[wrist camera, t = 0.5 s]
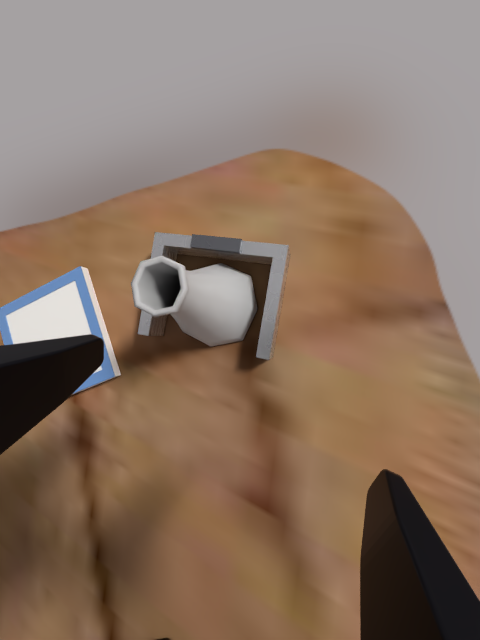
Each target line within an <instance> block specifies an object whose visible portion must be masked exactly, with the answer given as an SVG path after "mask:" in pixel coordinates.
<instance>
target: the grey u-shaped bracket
mask: <svg viewBox="0 0 480 640" xmlns="http://www.w3.org/2000/svg"><path fill="white" fill-rule="evenodd" d="M178 254H183V255H192V256H200V257H209V258H218V259H226V260H235V261H243V262H252V263H260V264H269V265H271V271H270V277H269V283H268V288H267V294H266V300H265V306H264V312H263V318H262V324H261V330H260V336H259V341H258V347H257V353H256V357H257V358H262V359H267V360H270V359H271V358H272V357H273V354H274V348H275V343H276V337H277V331H278V325H279V319H280V313H281V307H282V301H283V295H284V289H285V283H286V278H287V272H288V266H289V260H290V250H289V245H280V244H270V243H260V242H250V241H242V239H236V238H225V237H215V236H205V235H194V234H192V236H189V235H179V234H168V233H158V232H155V237H154V242H153V248H152V254H151V258H155V257H159V256H164V257H166V258H169V259H171V260H173V261H175V262H176V261H177V255H178ZM166 319H167V314H166V315H162V316H158V317H154V316H152V315H150V314H148V313H146V312H145V311H143V310H142V311H141V317H140V323H139V329H138V334H141V335H146V336H164V330H165V325H166Z"/></svg>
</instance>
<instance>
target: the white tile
mask: <svg viewBox="0 0 480 640" xmlns="http://www.w3.org/2000/svg"><path fill="white" fill-rule="evenodd" d="M0 331H1V335H2V338H3V342H4V345H10V344H18V343H26V342H34V341H42V340H49V339H57V338H65V337H73V336H81V335H88V334H92V335H95V336H97V337H100V338H102V339H103V341H104V360H103V363H102V364H101V366H100V367H99V368H98V369H97V370H96V371H95V372H94V373H93V374H92V375H91V376H90V377H89V378H88V379H87V380H86V381H85V382H84V383H83V384H82V385H81V386H80V387H79V388H78V389H77V390H76V391H75V392H74V393H73V394H76V393H78V392H81V391H83V390H86V389H88V388H91V387H93V386H95V385H98V384H100V383H103V382H105V381H108V380H110V379H113V378H115V377H118V376H120V375H121V373H120V370H119V367H118V364H117V361H116V358H115V354H114V351H113V348H112V345H111V342H110V339H109V335H108V332H107V329H106V326H105V323H104V319H103V316H102V313H101V310H100V307H99V304H98V300H97V297H96V294H95V291H94V288H93V284H92V281H91V278H90V275H89V272H88V269H87V268H84V267H81V266H80V267H78V268H76V269H74V270H72V271H70V272H68V273H66V274H64V275H62V276H60V277H59V278H57V279H55V280H53V281H51V282H49V283H47V284H45V285H43V286H41V287H39V288H37V289H35V290H34V291H32V292H30V293H28V294H26V295H24V296H22V297H20V298H18V299H16V300H14V301H12V302H10V303H8V304H7V305H5V306H3V307H1V308H0ZM73 394H72V395H73Z"/></svg>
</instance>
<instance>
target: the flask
mask: <svg viewBox="0 0 480 640" xmlns="http://www.w3.org/2000/svg"><path fill="white" fill-rule="evenodd" d="M131 286H132V292H133V299H134V305H135V307H137V308H139V309H141V310H143V311H145V312H146V313H148V314H150V315H152V316H154V317H158V316H162V315H166V314H171V316H172V317H173V318H174V319H175V321H176V322H177V323H178V325H179V327H180V328H181V330H182V331H183V332H184V333H186V334H188V335H190V336H192V337H194V338H196V339H197V340H199V341H201V342H203V343H205V344H207V345H209V346H216V345H222V344H227V343H232V342H237V341H242V340H243V339H244V337H245V335H246V333H247V331H248V329H249V327H250V324H251V322H252V320H253V318H254V316H255V314H256V312H257V310H258V308H257V303H256V298H255V293H254V288H253V283H252V278H251V276H250V275H248V274H246V273H243V272H241V271H239V270H237V269H234V268H232V267H230V266H228V265H225V264H223V263H219V264H215V265H211V266H208V267H204V268H200V269H196V270H192V271H188V270H186V269H185V266H184V265H182V264H179V263H177V262H175V261H173V260H171V259H169V258H166V257H164V256H159V257H155V258H151V259H148V260H144V261H141V262H140V264H139V266H138V269H137V271H136V273H135V275H134V278H133V280H132V282H131Z"/></svg>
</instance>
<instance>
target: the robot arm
mask: <svg viewBox="0 0 480 640" xmlns="http://www.w3.org/2000/svg"><path fill="white" fill-rule="evenodd" d="M103 360H104V341H103V339H102V338H100V337H97V336H95V335H92V334H88V335H81V336H73V337H65V338H57V339H49V340H42V341H34V342H26V343H18V344H10V345H3V346H0V455H1V454H2V453H3V452H4V451H5V450H7V449H8V448H9V447H10V446H12V445H13V444H14V443H15V442H16V441H18V440H19V439H20V438H21V437H22V436H24V435H25V434H26V433H27V432H28V431H30V430H31V429H32V428H33V427H34V426H36V425H37V424H38V423H39V422H40V421H42V420H43V419H44V418H45V417H46V416H48V415H49V414H50V413H51V412H52V411H54V410H55V409H56V408H57V407H58V406H60V405H61V404H62V403H63V402H64V401H65V400H67V399H68V398H69V397H70V396H71V395H72V394H73V393H74V392H75V391H76V390H77V389H78V388H79V387H80V386H81V385H82V384H83V383H84V382H85V381H86V380H87V379H88V378H89V377H90V376H91V375H92V374H93V373H94V372H95V371H96V370H97V369H98V368H99V367H100V366H101V364H102V363H103ZM360 617H361V640H480V601H479V599H478V598H477V596H476V594H475V593H474V591H473V590H472V588H471V586H470V585H469V583H468V582H467V580H466V578H465V577H464V575H463V574H462V572H461V570H460V569H459V567H458V566H457V564H456V562H455V561H454V559H453V558H452V556H451V554H450V553H449V551H448V550H447V548H446V546H445V545H444V543H443V542H442V540H441V538H440V537H439V535H438V534H437V532H436V530H435V529H434V527H433V526H432V524H431V522H430V521H429V519H428V518H427V516H426V515H425V513H424V511H423V510H422V508H421V507H420V505H419V503H418V502H417V500H416V499H415V497H414V495H413V494H412V492H411V491H410V489H409V487H408V486H407V484H406V483H405V481H404V479H403V478H402V477H401V476H400V475H398V474H396V473H394V472H391V471H389V470H387V469H383V470H382V471H381V472H380V473H379V475H378V476H377V478H376V479H375V480H374V482H373V483H372V485H371V486H370V488H369V490H368V493H367V500H366V509H365V519H364V529H363V538H362V548H361V563H360Z"/></svg>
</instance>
